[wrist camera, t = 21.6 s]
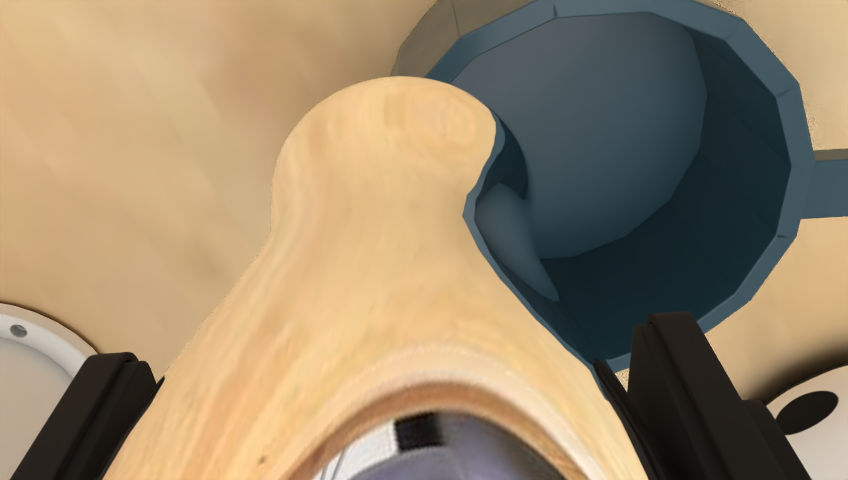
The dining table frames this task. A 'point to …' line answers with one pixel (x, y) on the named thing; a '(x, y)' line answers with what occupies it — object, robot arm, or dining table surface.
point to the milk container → (817, 422)
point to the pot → (641, 148)
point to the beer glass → (393, 321)
